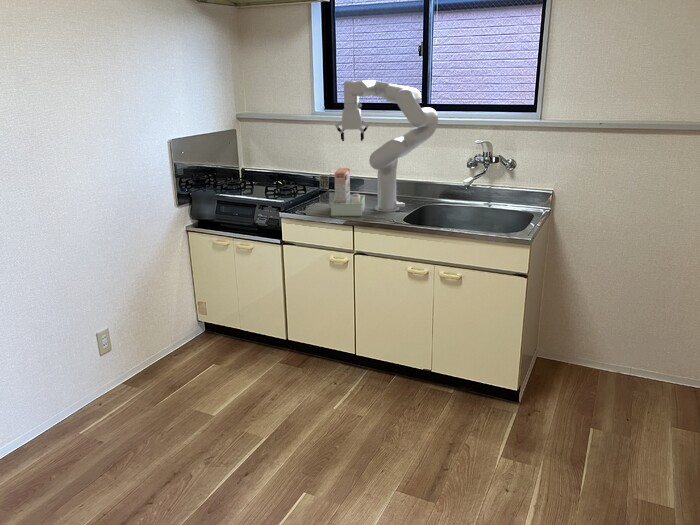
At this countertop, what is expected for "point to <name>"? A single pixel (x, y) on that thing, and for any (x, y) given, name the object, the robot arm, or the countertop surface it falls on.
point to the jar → (355, 198)
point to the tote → (348, 208)
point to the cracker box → (342, 185)
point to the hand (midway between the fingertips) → (352, 140)
